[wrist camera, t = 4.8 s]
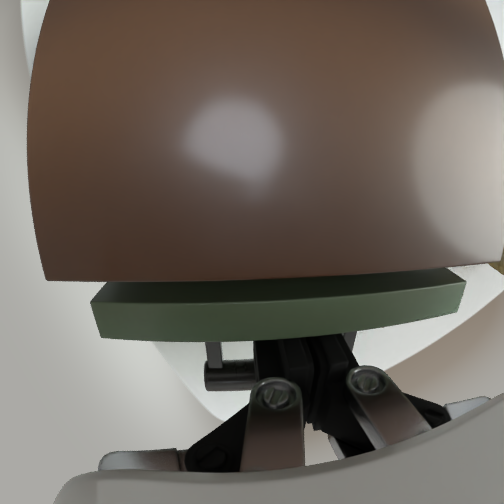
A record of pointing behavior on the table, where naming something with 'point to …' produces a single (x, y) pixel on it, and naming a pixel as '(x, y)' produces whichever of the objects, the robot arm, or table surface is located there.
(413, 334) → the table surface
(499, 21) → the plate
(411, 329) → the table surface
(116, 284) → the drawer
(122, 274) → the cabinet
